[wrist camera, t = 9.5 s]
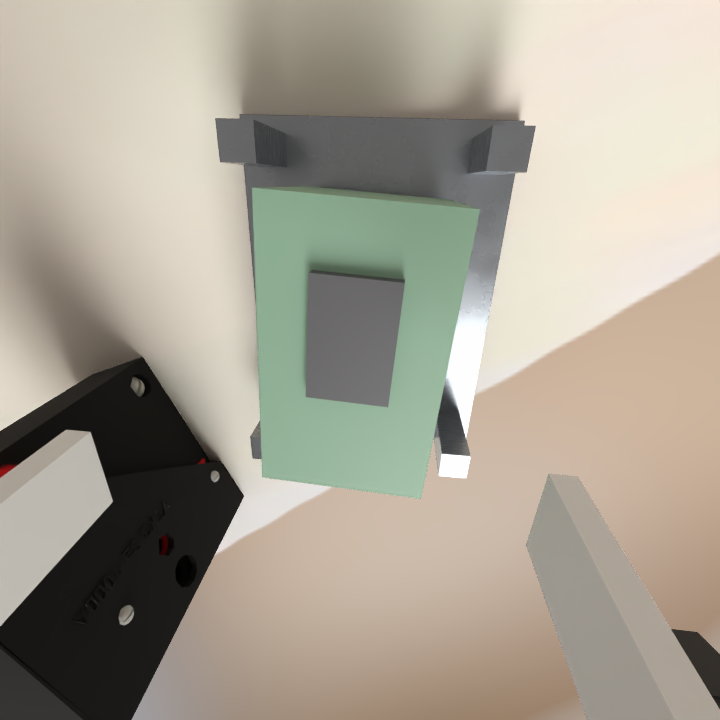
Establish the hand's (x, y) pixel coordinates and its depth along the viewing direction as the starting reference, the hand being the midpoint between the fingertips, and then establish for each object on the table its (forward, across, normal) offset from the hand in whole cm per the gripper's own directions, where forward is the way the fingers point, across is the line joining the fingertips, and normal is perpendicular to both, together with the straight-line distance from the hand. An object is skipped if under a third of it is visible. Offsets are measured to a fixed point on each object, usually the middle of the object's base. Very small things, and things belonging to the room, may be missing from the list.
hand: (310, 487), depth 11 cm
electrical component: (+21, -20, -16) cm, 33 cm away
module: (+18, 0, 0) cm, 18 cm away
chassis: (+21, 0, 0) cm, 21 cm away
